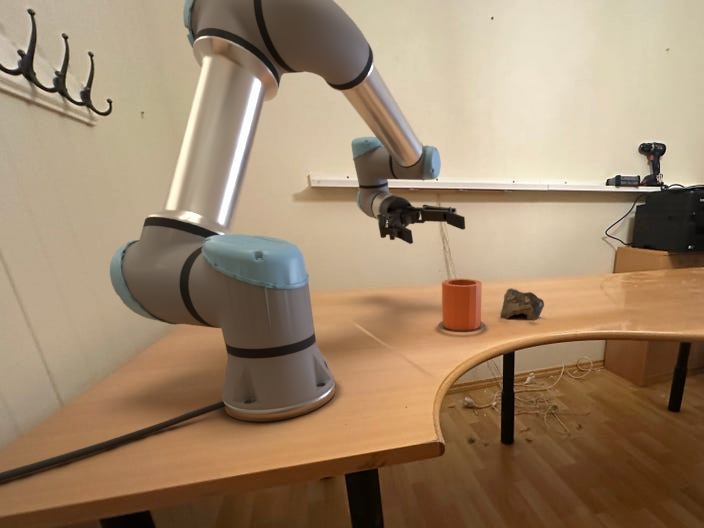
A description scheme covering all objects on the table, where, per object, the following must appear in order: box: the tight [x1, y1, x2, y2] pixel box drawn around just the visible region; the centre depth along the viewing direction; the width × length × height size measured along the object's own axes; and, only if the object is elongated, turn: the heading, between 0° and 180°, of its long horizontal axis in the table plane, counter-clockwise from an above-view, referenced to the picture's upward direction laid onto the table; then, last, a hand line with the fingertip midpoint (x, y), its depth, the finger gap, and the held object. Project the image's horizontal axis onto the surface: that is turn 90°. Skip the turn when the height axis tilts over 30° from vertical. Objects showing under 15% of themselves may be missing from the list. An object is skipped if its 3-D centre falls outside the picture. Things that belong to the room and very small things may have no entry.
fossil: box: [500, 288, 545, 321], centre depth 102 cm, size 11×9×10 cm
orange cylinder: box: [441, 278, 483, 331], centre depth 93 cm, size 9×9×10 cm
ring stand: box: [438, 320, 486, 333], centre depth 93 cm, size 11×11×9 cm
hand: (438, 230), depth 87 cm, fingers open, 13 cm apart
